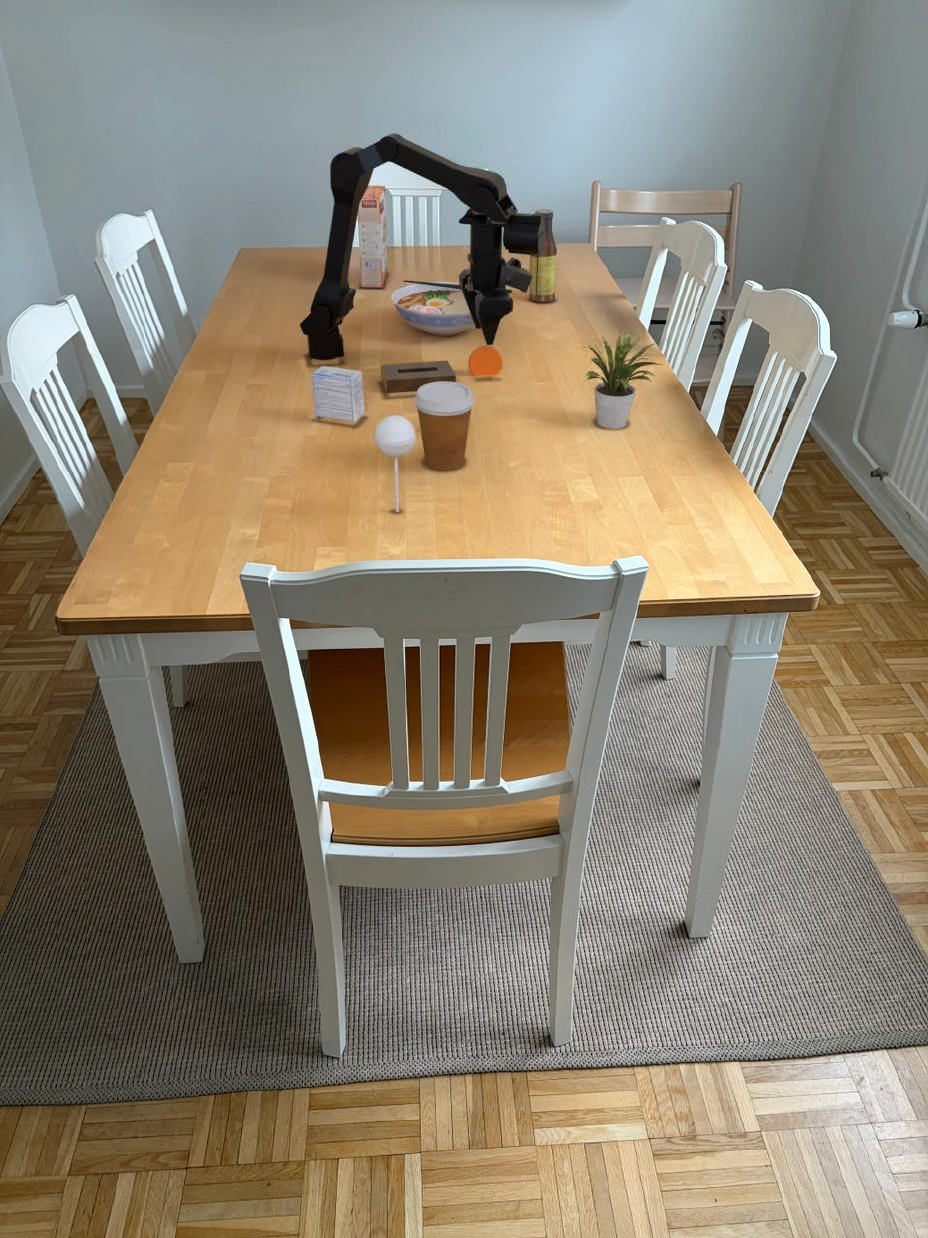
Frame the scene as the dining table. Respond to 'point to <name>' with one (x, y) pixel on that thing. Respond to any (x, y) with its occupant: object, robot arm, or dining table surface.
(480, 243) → the robot arm
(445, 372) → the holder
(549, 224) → the sauce bottle
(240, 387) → the dining table surface
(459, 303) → the ramen bowl
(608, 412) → the house plant
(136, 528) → the dining table surface
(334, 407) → the medicine box
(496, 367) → the token
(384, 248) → the cracker box
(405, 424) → the lollipop
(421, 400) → the disposable coffee cup
